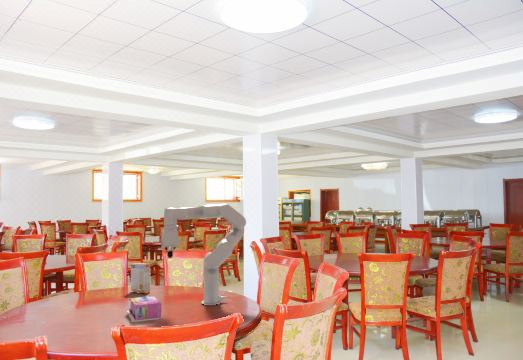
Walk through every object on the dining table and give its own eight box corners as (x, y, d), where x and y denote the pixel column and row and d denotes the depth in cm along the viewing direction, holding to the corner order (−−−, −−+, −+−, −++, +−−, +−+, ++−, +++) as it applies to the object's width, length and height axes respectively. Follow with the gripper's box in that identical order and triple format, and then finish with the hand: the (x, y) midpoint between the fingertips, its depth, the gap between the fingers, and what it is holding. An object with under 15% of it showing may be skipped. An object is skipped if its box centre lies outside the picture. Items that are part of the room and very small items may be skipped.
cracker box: (150, 292, 300) (150, 263, 301) (143, 294, 295) (144, 264, 296) (136, 291, 307) (137, 262, 309) (130, 292, 302) (130, 263, 304)
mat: (151, 309, 247) (151, 308, 247) (159, 319, 224) (159, 318, 224) (126, 311, 242) (126, 310, 242) (132, 322, 218) (132, 321, 218)
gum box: (152, 308, 247) (128, 311, 241) (152, 294, 247) (128, 297, 241) (161, 317, 225) (135, 320, 219) (161, 302, 226) (135, 305, 220)
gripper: (180, 227, 266) (180, 256, 264) (156, 228, 260) (156, 257, 258) (183, 227, 259) (183, 257, 258) (159, 228, 253) (158, 259, 252)
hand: (170, 257), depth 258 cm, fingers closed
